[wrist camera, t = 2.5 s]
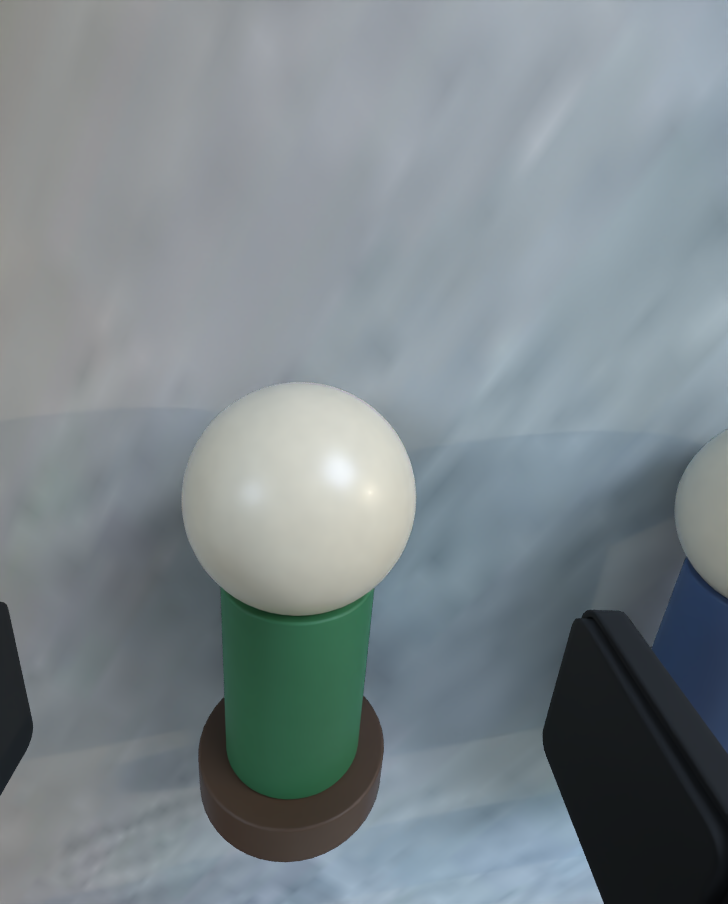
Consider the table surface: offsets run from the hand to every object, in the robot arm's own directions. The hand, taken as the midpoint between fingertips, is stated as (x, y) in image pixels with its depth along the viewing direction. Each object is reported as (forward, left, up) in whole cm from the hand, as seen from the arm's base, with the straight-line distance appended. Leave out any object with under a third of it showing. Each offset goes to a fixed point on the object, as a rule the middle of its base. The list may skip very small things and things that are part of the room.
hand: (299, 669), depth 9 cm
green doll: (+3, 0, -8) cm, 8 cm away
